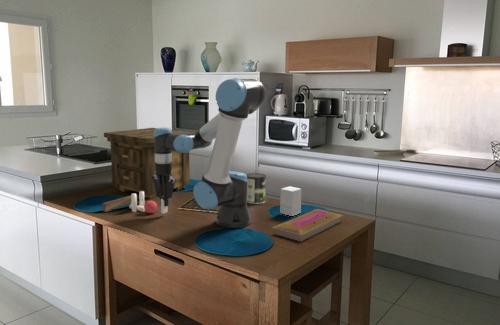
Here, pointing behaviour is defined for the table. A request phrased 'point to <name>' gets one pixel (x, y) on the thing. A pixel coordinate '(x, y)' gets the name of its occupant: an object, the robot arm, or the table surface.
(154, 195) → the wooden drawer cabinet
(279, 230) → the pink-striped wooden board
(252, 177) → the coffee can
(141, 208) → the front pin
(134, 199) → the pin
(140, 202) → the pin
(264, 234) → the table surface
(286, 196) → the supplement box
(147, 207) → the ball
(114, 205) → the backstop
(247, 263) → the table surface
